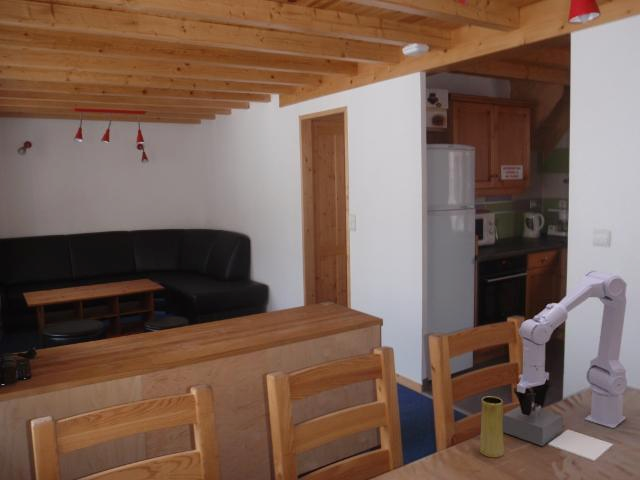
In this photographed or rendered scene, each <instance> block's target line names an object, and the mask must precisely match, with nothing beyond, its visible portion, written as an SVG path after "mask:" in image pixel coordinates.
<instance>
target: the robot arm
mask: <svg viewBox="0 0 640 480" xmlns="http://www.w3.org/2000/svg"><path fill="white" fill-rule="evenodd" d="M627 286H628V285H627V282H626V281H625V280H624V278H622V277H621V276H619V275H612V274H608V273H605V272H599V271H596V270H590V271H587V272H586V273H585V274H584V275H583V276H582V277H580V279H579V283H578V284H577V285H576V286H575V287H574V288H573V289H571V291H570V292H568V294H567V295H565V296H564V297H563V298H562V299H561V300H560V301H559V302H558V303H556V302H552V303H548V304H547V305H546V306H545V308H544V309H543V310H542V311H540V312H539V313H538V314H536V315H534V316H533V318H529V319H527V320H525V321H523V322H522V323H521V326H520V327H519V329H518V333H519V336H520V337H521V343H522V374H520V375H518V379H520V380H519V383H518V384H516V387H514V388H513V393H514V394H515V397H516V398H517V400H518V403H519V406H520V407H521V412H522V414H525V415H528V416H529V415H530V413H531V408H532V403H535V404H539V405H541V408H544V405H545V402H546V399H547V396H548V393H549V391H550V389H551V388H552V386H553V382H551V381H548V380H550V373H549V372H547V371H546V370H545V369H546V368H545V367H546V343H547V342H549V341H550V339H551V336H552V334H553V333H554V330H556V328H558V327H559V326H560V325H562V324H563V323H564V322H566V321H567V320H568V314H569V313H570V312H571V311H572V310H574V309H575V308H576V307H577V306H579V305H581V304H582V303H583V302H585V301H586V300H587V299H589V298H598V299H599V300H600V302H601V303H602V304H603V311H602V312H603V313H602V319H601V326H600V327H601V328H600V332H599V333H600V336H599V341H598V342H599V343H598V351H597V356H596V357H594V358H593V359H591V360H590V363H589V366H588V369H587V370H586V374H585V378H586V381H587V383H589V387H590V388H591V399H590V400H591V401H590V402H591V405H590V406H591V407H590V414H589V415H587V416H586V417H585V418H584V419H585V420H586V421H587V422H592V423H595V424H598V425H601V426H604V427H608V428H611V429H615V428H616V427H617V426H618V425H620V424H621V423H622V422H623V421H624V420H626V419H627V417H626V416H625V415H623V413H624V412H623V410H624V409H623V408H624V397H623V393H624V391H625V390H626V388H627V384H628V381H627V377H626V372H627V371H626V369H625V368H624V366H623V364H622V363H621V361H620V353H621V344H622V338H623V329H624V322H625V313H626V308H627V307H626V306H627V296H626V295H627V294H626V293H627V292H626V291H627ZM530 388H532V391H531V390H530Z"/></svg>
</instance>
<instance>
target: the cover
mask: <svg viewBox="0 0 640 480" xmlns="http://www.w3.org/2000/svg"><path fill="white" fill-rule="evenodd" d="M541 408H542V407H541V405H539V404H535V402H532V408H531V413H530V415H529V416H528V415H525V414H522V412H521V407H520V405H519V406H516V407H515V408H513V409H511V410H509V411H507V412H505V413H503V434H504V433H505V434H507V435H511V436H513V437H516V438H519V439H521V440H523V441H527V442H530V443H533V444H535V445H538V446H541V447H543V446H545V445H546V444H548V443H550V442H551V441H553V440H554V439H555V438H557V437H558V436H559V435H561V434H562V433H563V415H561V414H557V413H555V412H551V411H547V410H545V409H541Z"/></svg>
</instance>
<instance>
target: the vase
mask: <svg viewBox="0 0 640 480" xmlns="http://www.w3.org/2000/svg"><path fill="white" fill-rule="evenodd" d="M503 414H504V401H503V399H501V398H500V397H497V396H492V395H487V396H483V397H482V398H481V422H480V424H481V425H480V429H481V430H480V436H479V437H480V441H479V452H480V454H481V455H484V456H486V457H488V458H500V457H502V456H503V455H504V454H505V451H504V432H503Z"/></svg>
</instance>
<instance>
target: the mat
mask: <svg viewBox="0 0 640 480" xmlns="http://www.w3.org/2000/svg"><path fill="white" fill-rule="evenodd" d="M547 446H550V447H552V448H555V449H557V450H560V451H563V452H566V453H568V454H572V455H574V456H577V457H580V458H583V459H584V460H585V459H586V460H588V461H591V462H596V461H597V460H598V459H599V458H601V457H602V456H603V455H604V454H605V453H606V452H607V451H608V450H609V449H611V448H612V447H614V443H611V442H608V441H605V440H602V439H598V438H596V437H592V436H589V435H587V434H583V433H580V432H576V431H574V430H572V429H566V430H565V431H563V432H562V434H560V435H558V436H557V437H555V438H554V439H552V440H551V441H549V442H548V443H547Z"/></svg>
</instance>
